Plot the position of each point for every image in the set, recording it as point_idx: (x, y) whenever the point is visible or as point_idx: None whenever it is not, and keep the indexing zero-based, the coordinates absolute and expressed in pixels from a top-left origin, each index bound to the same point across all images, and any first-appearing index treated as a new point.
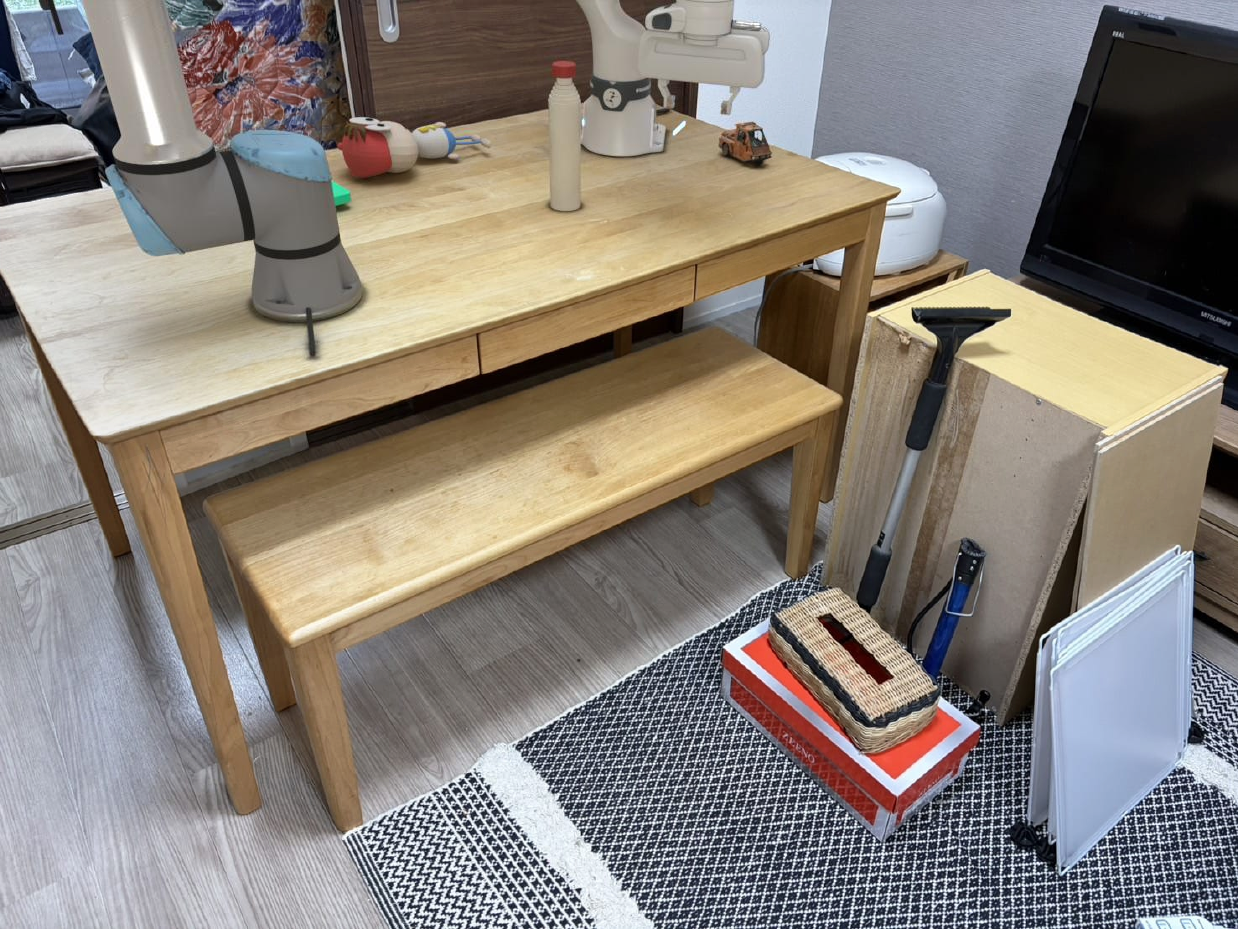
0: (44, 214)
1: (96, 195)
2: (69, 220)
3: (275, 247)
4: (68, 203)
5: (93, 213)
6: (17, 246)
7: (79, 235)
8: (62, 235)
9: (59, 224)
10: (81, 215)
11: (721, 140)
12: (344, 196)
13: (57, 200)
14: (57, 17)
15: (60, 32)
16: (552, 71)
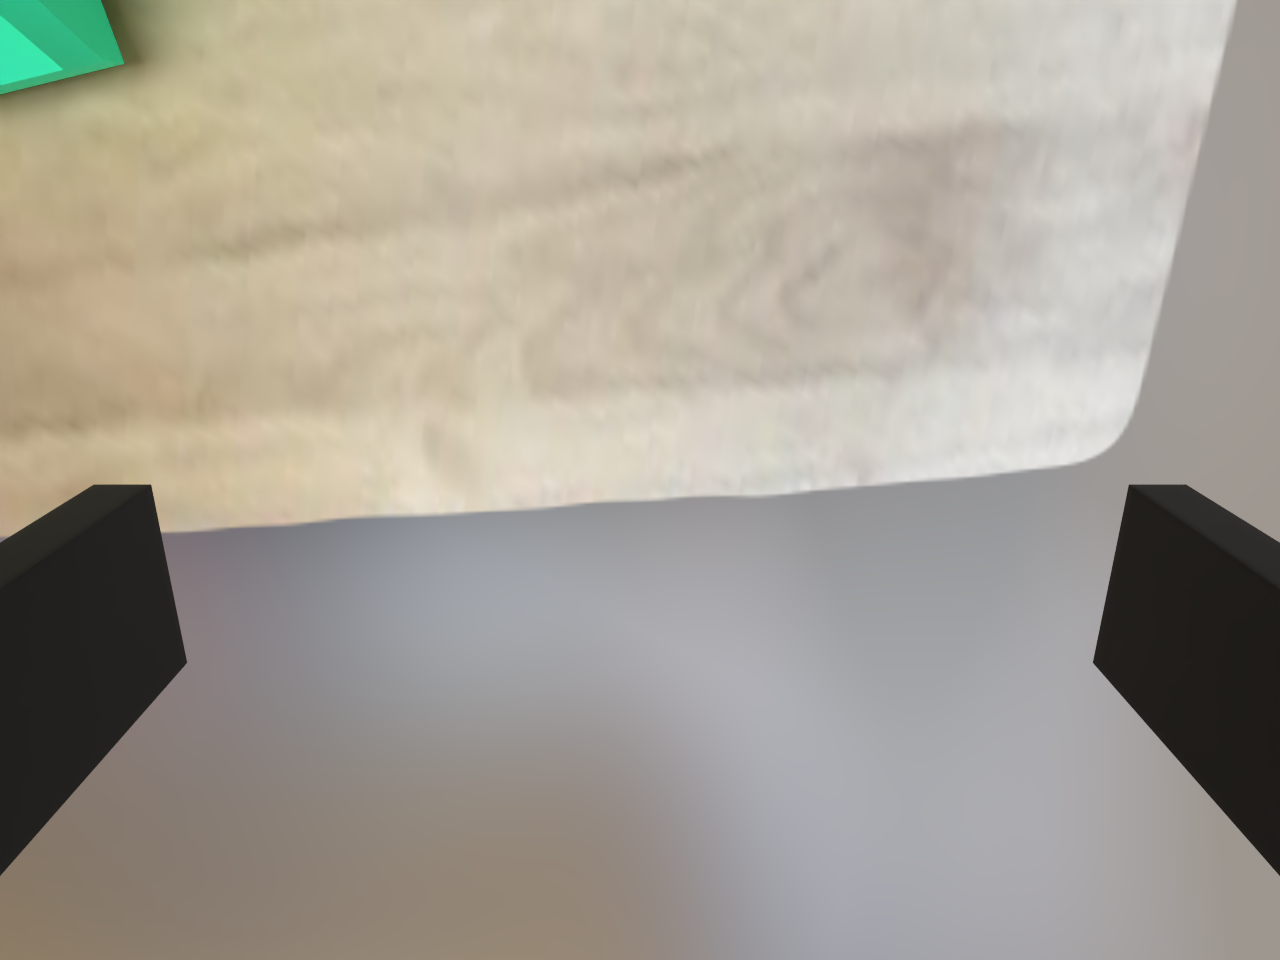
0: (1042, 328)
1: (835, 447)
2: (977, 218)
3: None
4: (941, 407)
5: (883, 254)
6: (1211, 10)
7: (981, 20)
8: (1037, 54)
9: (1019, 190)
10: (927, 253)
11: None
12: None
13: (969, 456)
14: (1255, 566)
15: (1170, 489)
16: None
